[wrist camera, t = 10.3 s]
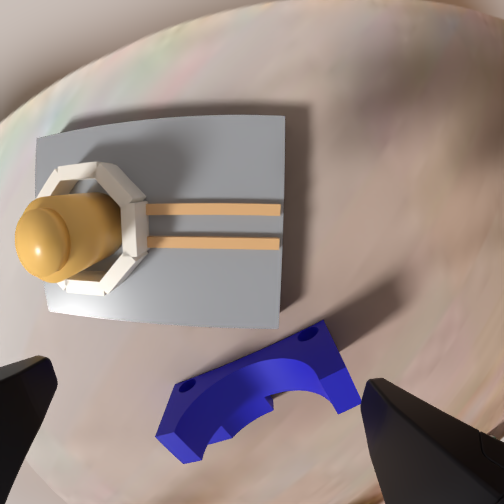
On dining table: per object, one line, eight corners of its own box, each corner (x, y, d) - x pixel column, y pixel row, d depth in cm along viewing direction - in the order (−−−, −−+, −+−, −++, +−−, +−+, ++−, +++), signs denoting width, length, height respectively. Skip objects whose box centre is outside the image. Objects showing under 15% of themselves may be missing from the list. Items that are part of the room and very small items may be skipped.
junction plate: (281, 123, 17) (289, 106, 13) (276, 315, 19) (281, 345, 15) (53, 141, 17) (18, 135, 13) (62, 301, 19) (33, 322, 15)
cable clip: (206, 421, 22) (196, 475, 16) (175, 383, 21) (155, 436, 15) (345, 365, 20) (369, 417, 15) (322, 318, 20) (345, 367, 14)
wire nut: (123, 189, 16) (65, 192, 10) (127, 258, 17) (76, 290, 11) (68, 195, 16) (5, 202, 10) (74, 258, 17) (15, 286, 11)
